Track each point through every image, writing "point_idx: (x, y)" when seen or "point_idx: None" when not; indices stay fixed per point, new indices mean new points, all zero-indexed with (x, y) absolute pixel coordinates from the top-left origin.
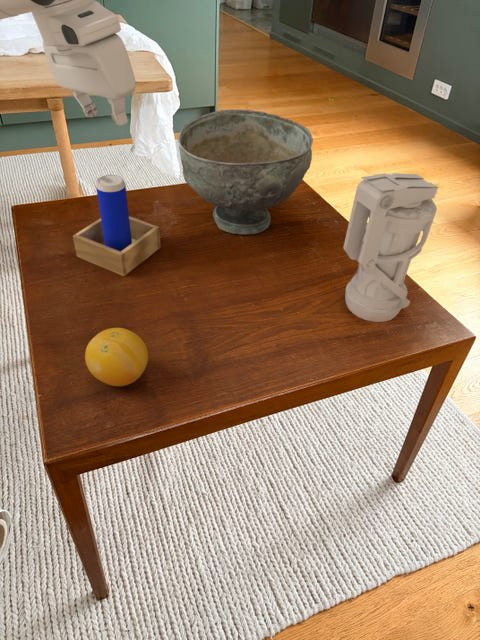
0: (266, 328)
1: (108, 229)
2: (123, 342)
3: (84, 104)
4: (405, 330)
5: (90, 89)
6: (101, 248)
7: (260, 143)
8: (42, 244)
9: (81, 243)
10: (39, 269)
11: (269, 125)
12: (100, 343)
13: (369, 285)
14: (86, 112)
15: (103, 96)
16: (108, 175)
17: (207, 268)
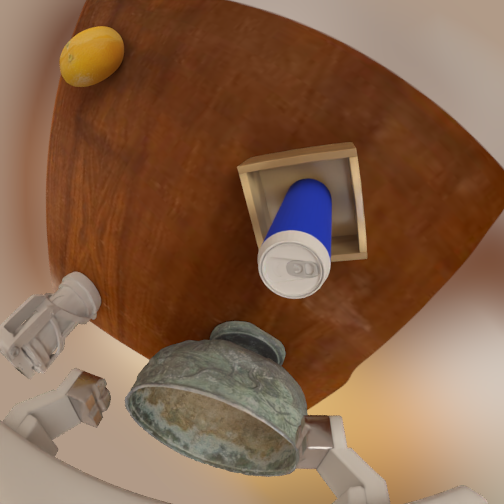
0: (89, 211)
1: (295, 195)
2: (61, 63)
3: (330, 459)
4: (62, 277)
5: (67, 489)
6: (282, 157)
7: (255, 441)
8: (424, 132)
9: (334, 148)
10: (365, 78)
11: (240, 461)
12: (73, 41)
13: (59, 293)
14: (321, 429)
15: (4, 427)
16: (316, 285)
17: (190, 249)
